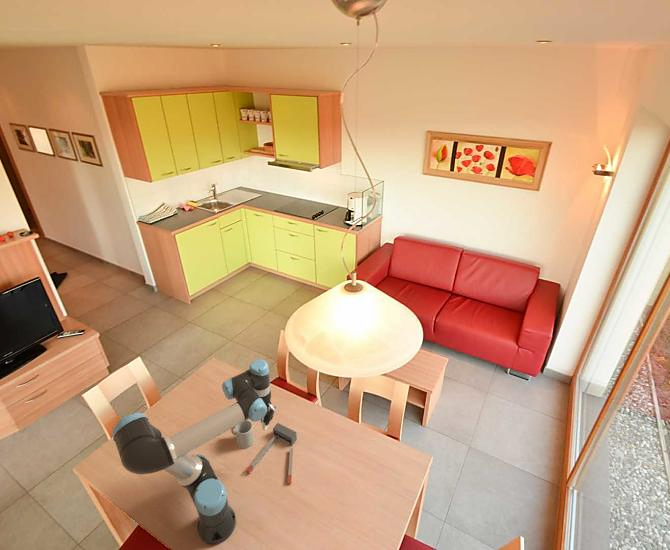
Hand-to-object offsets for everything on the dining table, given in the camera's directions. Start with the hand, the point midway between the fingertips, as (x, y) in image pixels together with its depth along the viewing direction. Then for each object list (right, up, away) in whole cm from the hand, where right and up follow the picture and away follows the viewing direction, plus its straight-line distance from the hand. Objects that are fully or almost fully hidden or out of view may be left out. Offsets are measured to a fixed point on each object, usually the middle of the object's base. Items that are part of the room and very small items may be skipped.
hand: (265, 428), depth 178 cm
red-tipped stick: (+11, -21, +8) cm, 25 cm away
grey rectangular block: (+6, -13, +22) cm, 26 cm away
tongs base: (+1, -18, +13) cm, 23 cm away
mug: (-15, -14, +20) cm, 29 cm away
